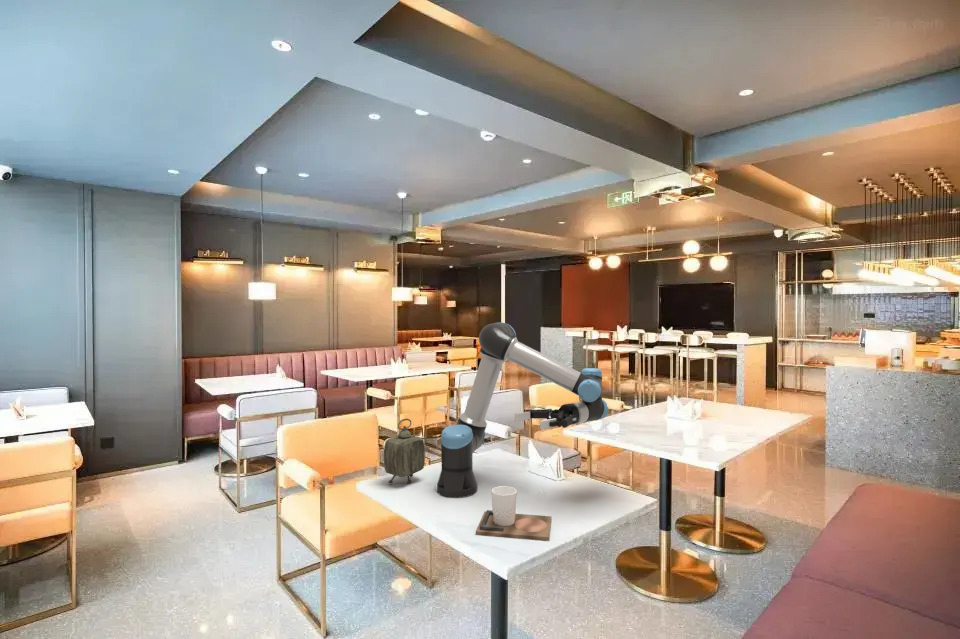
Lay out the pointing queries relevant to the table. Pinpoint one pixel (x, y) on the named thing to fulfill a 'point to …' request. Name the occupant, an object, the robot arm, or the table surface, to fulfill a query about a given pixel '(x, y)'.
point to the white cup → (504, 505)
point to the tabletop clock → (404, 454)
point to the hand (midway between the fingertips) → (527, 421)
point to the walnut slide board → (516, 527)
